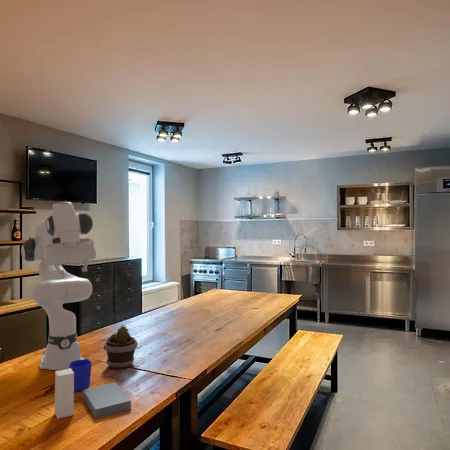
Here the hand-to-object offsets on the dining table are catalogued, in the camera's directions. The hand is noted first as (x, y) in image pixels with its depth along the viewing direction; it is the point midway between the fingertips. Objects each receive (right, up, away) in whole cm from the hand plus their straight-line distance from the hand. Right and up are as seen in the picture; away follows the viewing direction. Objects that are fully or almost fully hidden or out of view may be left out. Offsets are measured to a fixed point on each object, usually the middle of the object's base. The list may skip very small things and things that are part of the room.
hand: (73, 273), depth 151 cm
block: (+7, -44, -25) cm, 51 cm away
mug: (+5, -44, -3) cm, 45 cm away
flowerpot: (+14, -45, +19) cm, 51 cm away
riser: (+19, -44, -17) cm, 51 cm away
